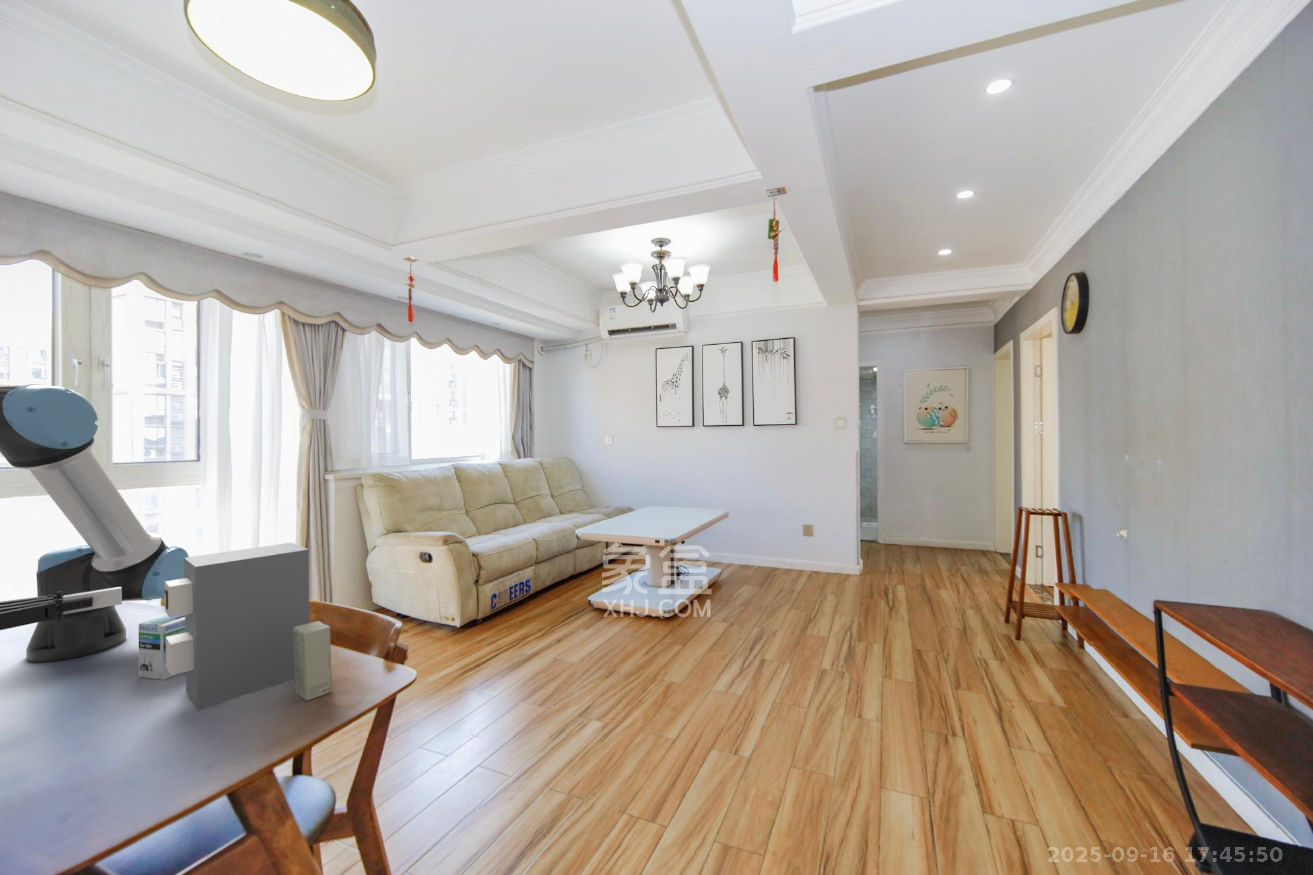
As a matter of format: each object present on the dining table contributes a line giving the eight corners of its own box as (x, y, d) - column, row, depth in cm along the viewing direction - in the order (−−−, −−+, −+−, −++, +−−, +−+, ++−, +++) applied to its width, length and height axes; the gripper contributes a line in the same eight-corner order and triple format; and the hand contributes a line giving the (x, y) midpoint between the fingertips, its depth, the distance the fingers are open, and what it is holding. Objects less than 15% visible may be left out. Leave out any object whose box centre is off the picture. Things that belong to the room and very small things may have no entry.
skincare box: (333, 692, 96) (332, 626, 96) (305, 702, 92) (304, 634, 92) (320, 682, 100) (319, 619, 100) (293, 691, 96) (292, 626, 96)
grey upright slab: (186, 690, 97) (184, 557, 97) (293, 659, 110) (291, 542, 110) (197, 709, 90) (195, 566, 90) (310, 674, 103) (308, 549, 103)
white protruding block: (163, 611, 93) (163, 581, 93) (208, 602, 97) (208, 574, 97) (168, 618, 89) (167, 587, 89) (215, 608, 94) (214, 579, 94)
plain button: (166, 666, 93) (165, 636, 93) (209, 655, 97) (209, 627, 97) (170, 675, 89) (170, 644, 89) (215, 663, 94) (215, 633, 94)
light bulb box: (163, 680, 101) (162, 625, 101) (136, 678, 103) (135, 623, 102) (219, 657, 112) (218, 608, 112) (194, 655, 113) (193, 606, 113)
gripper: (-120, 652, 74) (117, 609, 92) (-140, 678, 66) (125, 625, 84) (-120, 600, 74) (117, 567, 92) (-141, 619, 66) (125, 579, 84)
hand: (121, 595), depth 88 cm, fingers closed
